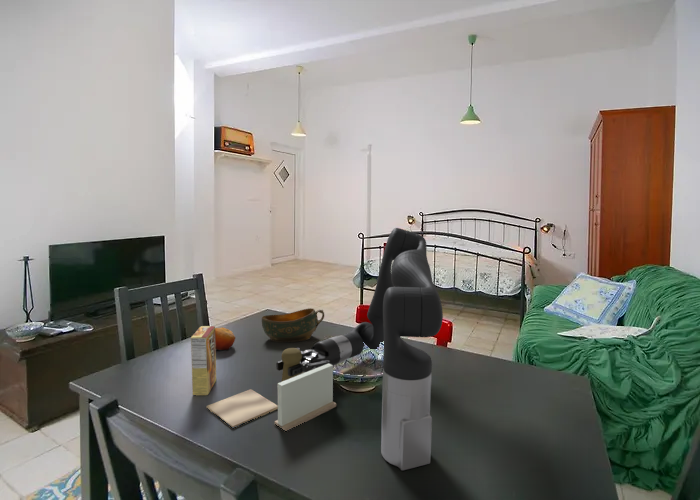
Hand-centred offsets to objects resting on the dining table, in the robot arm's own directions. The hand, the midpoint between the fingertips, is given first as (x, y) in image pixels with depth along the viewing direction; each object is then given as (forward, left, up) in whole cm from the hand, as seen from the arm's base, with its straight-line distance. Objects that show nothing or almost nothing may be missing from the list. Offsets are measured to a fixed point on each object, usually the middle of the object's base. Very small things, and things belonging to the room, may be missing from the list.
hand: (283, 369), depth 101 cm
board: (-4, +11, -7) cm, 13 cm away
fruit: (+37, +13, -7) cm, 40 cm away
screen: (-12, -3, -7) cm, 14 cm away
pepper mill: (+1, -2, -7) cm, 7 cm away
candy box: (+10, +19, -7) cm, 22 cm away
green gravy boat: (+39, -11, -7) cm, 41 cm away
